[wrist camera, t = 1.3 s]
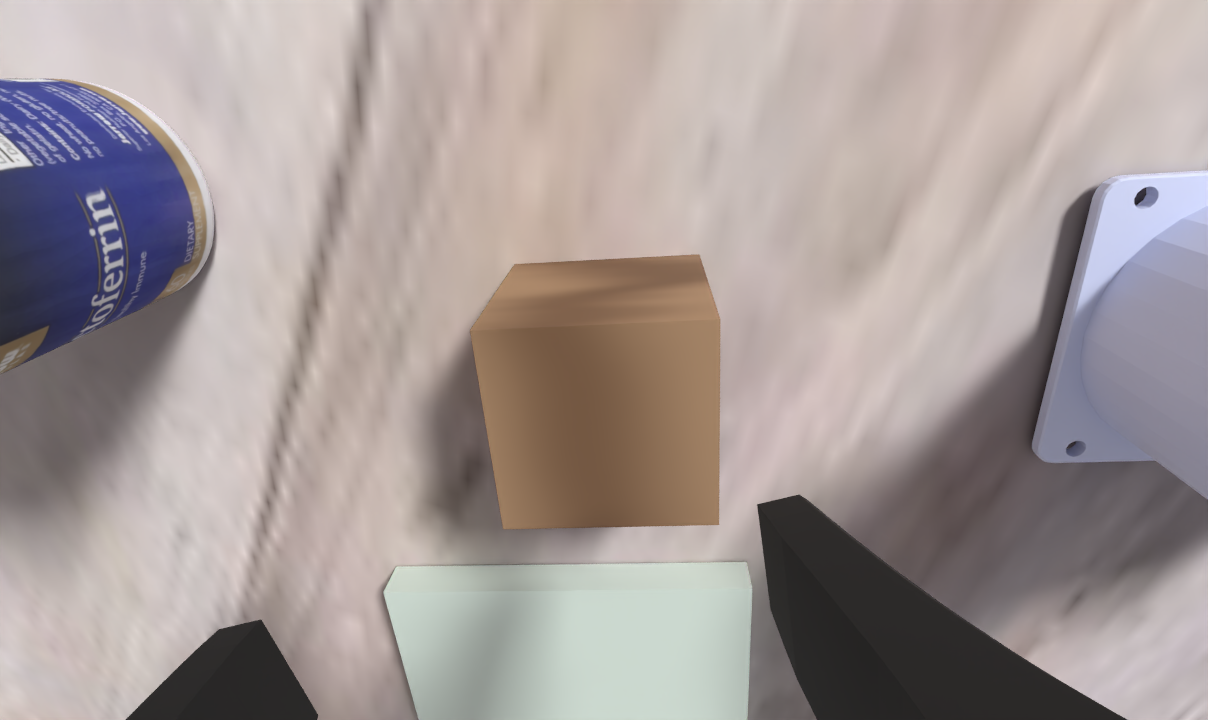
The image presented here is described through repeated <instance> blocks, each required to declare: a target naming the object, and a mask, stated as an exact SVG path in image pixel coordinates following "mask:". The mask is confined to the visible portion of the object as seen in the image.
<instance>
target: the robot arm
mask: <svg viewBox="0 0 1208 720" xmlns="http://www.w3.org/2000/svg"><path fill="white" fill-rule="evenodd" d="M1143 188H1146V196H1145V198H1144V199H1143V201H1141V202H1140V203H1139V204H1137V205H1135V204H1134V198H1135V197H1136V195H1137V193H1138V192H1139V191H1140V190H1142V189H1143ZM1074 441H1077V442H1076V444H1075V445H1074V446H1073V447H1071V448H1068V449H1066V448H1067V446H1068V445H1069V444H1070V443H1072V442H1074ZM1032 450H1033V451H1034V453H1035V454H1036V455H1037V456H1038V457H1039V458H1040V459H1041V460H1043V461H1045V462H1048V463H1078V462H1119V461H1157V462H1158V463H1159V464H1161V465H1162V466H1163V467H1165V468H1166V469H1167V470H1169V471H1170V472H1171V473H1173V474H1174V475H1175V476H1177V477H1178V478H1179V479H1181V480H1182V481H1183V482H1185V483H1186V484H1187V485H1189V486H1190V487H1191V488H1193V489H1194V490H1195V491H1197V492H1198V493H1199V494H1200V495H1202V496H1203V497H1204V498H1206V499H1207V500H1208V170H1205V171H1188V172H1170V173H1153V174H1136V175H1119V176H1115V177H1111V178H1109V179H1108V180H1106V181H1104V182H1103V183H1102V184H1101V185H1100V186H1099V187H1098V188H1097V189H1096V191H1095V193H1094V195H1093V198H1092V202H1091V206H1090V210H1089V214H1088V218H1087V222H1086V226H1085V230H1084V234H1083V238H1082V242H1081V246H1080V250H1079V254H1078V258H1077V262H1076V266H1075V271H1074V275H1073V279H1072V283H1071V287H1070V291H1069V295H1068V299H1067V303H1066V307H1065V311H1064V315H1063V319H1062V323H1061V327H1060V331H1059V335H1058V340H1057V344H1056V348H1055V352H1054V356H1053V360H1052V364H1051V368H1050V372H1049V376H1048V380H1047V384H1046V388H1045V392H1044V396H1043V400H1042V404H1041V409H1040V413H1039V417H1038V421H1037V425H1036V429H1035V433H1034V437H1033V441H1032ZM757 506H758V514H759V522H760V530H761V537H762V545H763V553H764V561H765V569H766V576H767V584H768V592H769V600H770V608H771V611H772V614H773V617H774V619H775V622H776V625H777V628H778V630H779V633H780V636H781V638H782V641H783V644H784V646H785V649H786V651H787V654H788V657H789V659H790V662H791V664H792V667H793V670H794V672H795V675H796V677H797V680H798V682H799V684H800V686H801V688H802V690H803V692H804V694H805V696H806V698H807V700H808V702H809V704H810V706H811V708H812V710H813V712H814V714H815V716H816V718H817V720H1127V719H1125V718H1123V717H1122V716H1120V715H1118V714H1116V713H1114V712H1113V711H1111V710H1109V709H1107V708H1106V707H1104V706H1102V705H1101V704H1099V703H1097V702H1095V701H1094V700H1092V699H1090V698H1089V697H1087V696H1085V695H1083V694H1082V693H1080V692H1078V691H1077V690H1075V689H1073V688H1071V687H1070V686H1068V685H1066V684H1065V683H1063V682H1061V681H1060V680H1058V679H1056V678H1055V677H1053V676H1051V675H1050V674H1048V673H1046V672H1045V671H1043V670H1042V669H1040V668H1038V667H1037V666H1035V665H1033V664H1032V663H1030V662H1029V661H1027V660H1026V659H1024V658H1022V657H1021V656H1019V655H1018V654H1016V653H1014V652H1013V651H1011V650H1010V649H1008V648H1007V647H1005V646H1004V645H1002V644H1001V643H999V642H998V641H996V640H995V639H993V638H992V637H990V636H989V635H987V634H985V633H984V632H982V631H981V630H979V629H978V628H976V627H975V626H973V625H972V624H970V623H969V622H967V621H966V620H964V619H963V618H962V617H960V616H959V615H957V614H956V613H954V612H953V611H951V610H950V609H949V608H947V607H946V606H944V605H943V604H941V603H940V602H938V601H937V600H936V599H934V598H933V597H932V596H930V595H929V594H927V593H926V592H925V591H923V590H922V589H921V588H919V587H918V586H917V585H915V584H914V583H912V582H911V581H910V580H908V579H907V578H906V577H904V576H903V575H901V574H900V573H899V572H897V571H896V570H895V569H893V568H892V567H891V566H889V565H888V564H887V563H885V562H884V561H883V560H881V559H880V558H879V557H877V556H876V555H875V554H874V553H872V552H871V551H870V550H868V549H867V548H866V547H865V546H863V545H862V544H861V543H860V542H858V541H857V540H856V539H855V538H853V537H852V536H851V535H849V534H848V533H847V532H846V531H845V530H843V529H842V528H841V527H840V526H838V525H837V524H836V523H835V522H833V521H832V520H831V519H830V518H829V517H827V516H826V515H825V514H824V513H823V512H821V511H820V510H819V509H818V508H816V507H815V506H814V505H813V504H812V503H810V502H809V501H808V500H807V499H805V498H804V497H802V496H800V495H796V496H791V497H787V498H783V499H779V500H774V501H770V502H766V503H761V504H757ZM317 718H318V714H317V712H316V711H315V709H314V707H313V706H312V704H311V702H310V701H309V699H308V697H307V695H306V694H305V692H304V690H303V689H302V687H301V685H300V684H299V682H298V680H297V679H296V677H295V675H294V674H293V672H292V670H291V669H290V667H289V665H288V664H287V662H286V660H285V659H284V657H283V655H282V654H281V652H280V650H279V649H278V647H277V645H276V643H275V642H274V640H273V638H272V637H271V635H270V633H269V632H268V630H267V628H266V627H265V625H264V623H263V622H262V620H257V621H253V622H249V623H244V624H240V625H236V626H231V627H227V628H223V629H219V630H218V631H217V632H216V633H215V634H214V635H212V636H211V637H210V638H209V639H208V640H207V641H206V642H204V643H203V644H202V645H201V646H200V647H199V648H198V649H197V650H196V651H195V652H194V653H193V654H192V655H191V656H190V657H188V658H187V659H186V660H185V661H184V662H183V663H182V664H181V665H180V666H179V667H178V668H177V669H176V670H175V671H174V672H173V673H172V674H171V675H170V676H169V677H168V678H167V679H166V680H165V681H164V682H163V683H162V684H161V685H160V686H159V687H158V688H157V689H156V690H155V691H154V692H153V693H152V694H151V695H150V696H149V697H148V698H147V699H146V700H145V701H144V702H143V703H142V704H141V705H140V706H139V707H138V708H137V709H136V710H135V711H134V712H133V713H132V714H131V715H130V716H129V717H128V718H127V719H126V720H317Z"/></svg>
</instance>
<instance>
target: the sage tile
mask: <svg viewBox="0 0 1208 720" xmlns="http://www.w3.org/2000/svg"><path fill="white" fill-rule="evenodd" d="M383 593H384V597H385V600H386V604H387V608H388V611H389V615H390V618H391V622H392V626H393V629H394V633H395V636H396V640H397V644H398V647H399V651H400V654H401V658H402V662H403V665H404V669H405V673H406V676H407V680H408V683H409V687H410V691H411V694H412V698H413V701H414V705H415V709H416V712H417V716H418V719H419V720H747V716H748V690H749V664H750V638H751V612H752V585H751V580H750V575H749V571H748V566H747V562H700V563H625V564H550V565H475V566H400V567H396V568H395V570H394V572H393V574H392V576H391V578H390V580H389V582H388V584H387V586H386V588H385V590H384V592H383Z"/></svg>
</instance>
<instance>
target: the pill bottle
mask: <svg viewBox="0 0 1208 720" xmlns="http://www.w3.org/2000/svg"><path fill="white" fill-rule="evenodd" d="M213 236H214V210H213V203H212V198H211V195H210V191H209V188H208V185H207V182H206V179H205V177H204V175H203V173H202V170H201V168H200V167H199V165H198V163H197V161H196V159H195V158H194V156H193V155H192V153H191V152H190V150H189V149H188V147H187V146H186V145H185V144H184V142H183V141H182V140H181V139H180V137H179V136H178V135H177V134H176V133H175V132H174V131H173V130H172V129H171V128H170V127H169V126H168V125H167V124H166V123H165V122H164V121H163V120H162V119H160V118H159V117H158V116H157V115H156V114H155V113H153V112H152V111H151V110H149V109H148V108H147V107H145V106H143V105H142V104H140V103H139V102H137V101H135V100H134V99H132V98H130V97H128V96H126V95H124V94H122V93H120V92H118V91H115V90H112V89H110V88H107V87H104V86H101V85H97V84H93V83H89V82H84V81H77V80H65V79H17V78H13V79H0V374H2V373H4V372H6V371H8V370H10V369H13V368H15V367H17V366H19V365H21V364H23V363H25V362H28V361H30V360H32V359H34V358H36V357H38V356H41V355H43V354H45V353H47V352H49V351H52V350H54V349H56V348H58V347H60V346H62V345H64V344H66V343H69V342H71V341H74V340H75V339H77V338H79V337H81V336H83V335H85V334H88V333H90V332H92V331H94V330H97V329H99V328H101V327H103V326H105V325H107V324H109V323H112V322H114V321H116V320H118V319H120V318H122V317H125V316H127V315H129V314H131V313H133V312H135V311H138V310H140V309H142V308H144V307H146V306H148V305H150V304H152V303H154V302H157V301H159V300H161V299H163V298H165V297H167V296H168V295H170V294H172V293H174V292H176V291H178V290H179V289H181V288H182V287H184V286H185V285H186V284H188V283H189V282H190V281H191V280H192V279H193V278H194V277H195V276H196V275H197V274H198V273H199V272H200V270H201V269H202V267H203V266H204V264H205V262H206V260H207V258H208V256H209V253H210V250H211V247H212V243H213Z"/></svg>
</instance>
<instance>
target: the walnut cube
mask: <svg viewBox="0 0 1208 720" xmlns="http://www.w3.org/2000/svg"><path fill="white" fill-rule="evenodd" d="M470 334H471V340H472V346H473V352H474V358H475V364H476V370H477V376H478V382H479V388H480V394H481V400H482V406H483V412H484V418H485V424H486V430H487V436H488V442H489V448H490V454H491V460H492V466H493V472H494V478H495V484H496V490H497V496H498V502H499V508H500V514H501V519H502V525H503V529H541V528H590V527H638V526H687V525H719V435H720V317H719V314H718V311H717V308H716V305H715V302H714V299H713V295H712V292H711V289H710V286H709V283H708V280H707V277H706V274H705V271H704V268H703V265H702V262H701V259H700V255H681V256H662V257H643V258H624V259H605V260H586V261H568V262H549V263H530V264H514V266H513V267H512V269H511V270H510V272H509V273H508V275H507V276H506V278H505V279H504V281H503V282H502V284H501V285H500V287H499V288H498V290H497V291H496V293H495V294H494V296H493V297H492V299H491V300H490V302H489V303H488V304H487V306H486V307H485V309H484V310H483V312H482V313H481V315H480V316H479V318H478V319H477V321H476V322H475V324H474V325H473V327H472V328H471V330H470Z"/></svg>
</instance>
